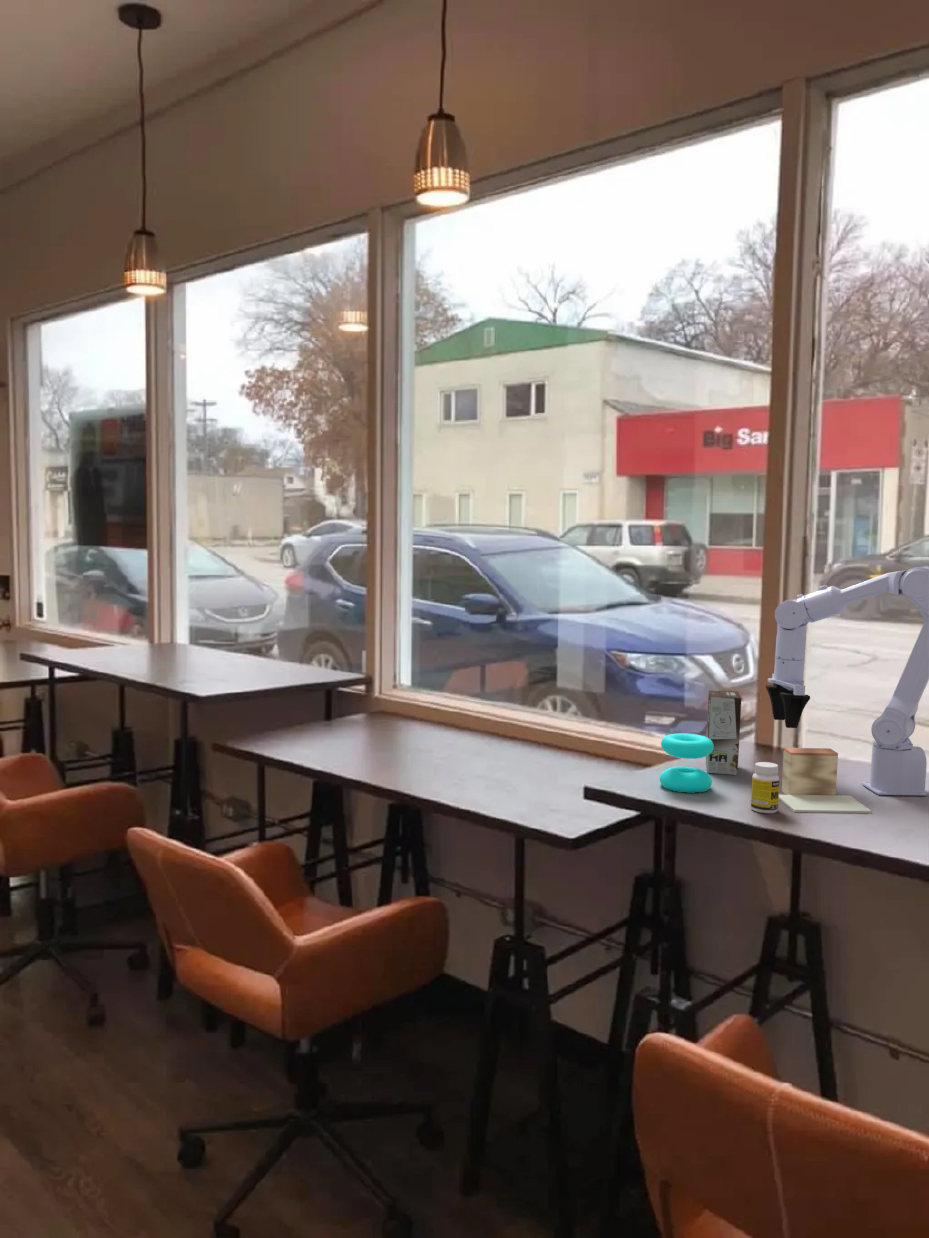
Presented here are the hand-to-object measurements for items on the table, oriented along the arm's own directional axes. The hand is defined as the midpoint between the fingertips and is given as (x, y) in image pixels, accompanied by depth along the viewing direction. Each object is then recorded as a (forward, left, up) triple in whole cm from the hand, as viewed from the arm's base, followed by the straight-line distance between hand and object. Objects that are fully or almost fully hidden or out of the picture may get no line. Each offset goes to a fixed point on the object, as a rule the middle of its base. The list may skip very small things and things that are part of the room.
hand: (785, 723), depth 204 cm
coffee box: (+12, -3, -11) cm, 16 cm away
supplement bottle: (+12, +26, -11) cm, 31 cm away
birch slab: (0, +15, -11) cm, 18 cm away
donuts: (+23, +12, -11) cm, 28 cm away
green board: (0, +22, -11) cm, 25 cm away
